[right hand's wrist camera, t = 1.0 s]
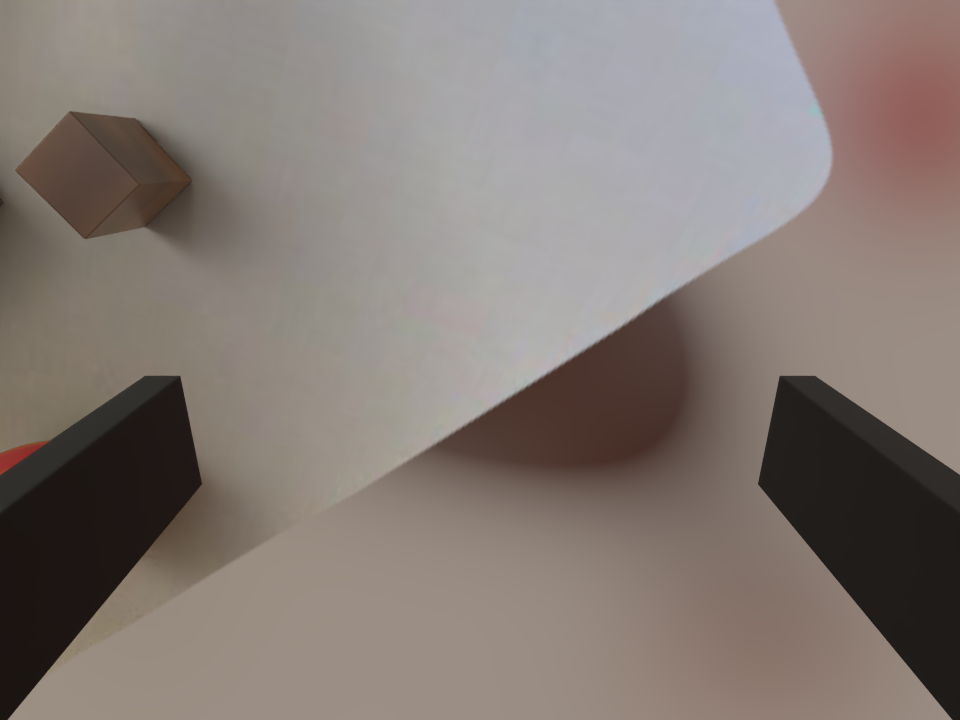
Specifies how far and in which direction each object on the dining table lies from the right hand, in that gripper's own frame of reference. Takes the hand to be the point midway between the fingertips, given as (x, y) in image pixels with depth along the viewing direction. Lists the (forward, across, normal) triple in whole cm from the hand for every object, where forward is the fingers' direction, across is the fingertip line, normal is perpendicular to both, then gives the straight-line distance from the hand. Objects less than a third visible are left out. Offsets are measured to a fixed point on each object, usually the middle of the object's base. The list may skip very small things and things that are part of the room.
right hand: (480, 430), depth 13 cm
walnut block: (+21, -18, +5) cm, 28 cm away
